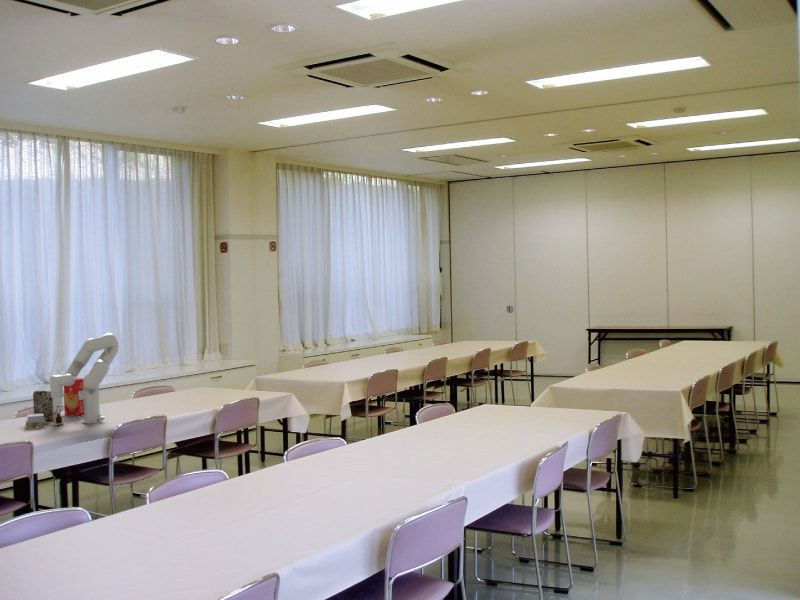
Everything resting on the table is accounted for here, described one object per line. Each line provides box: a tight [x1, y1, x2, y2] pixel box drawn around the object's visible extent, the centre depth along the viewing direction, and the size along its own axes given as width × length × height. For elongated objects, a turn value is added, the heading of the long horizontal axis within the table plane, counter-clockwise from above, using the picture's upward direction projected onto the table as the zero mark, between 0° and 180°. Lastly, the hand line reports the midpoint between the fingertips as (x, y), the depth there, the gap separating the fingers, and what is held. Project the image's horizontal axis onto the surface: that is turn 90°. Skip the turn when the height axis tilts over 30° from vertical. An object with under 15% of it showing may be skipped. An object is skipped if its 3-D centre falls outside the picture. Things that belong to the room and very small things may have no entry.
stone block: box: [32, 389, 56, 421], centre depth 535 cm, size 13×7×20 cm, turn 92°
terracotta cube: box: [53, 413, 65, 426], centre depth 520 cm, size 6×6×6 cm
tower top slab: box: [27, 413, 44, 423], centre depth 514 cm, size 9×9×4 cm
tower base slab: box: [25, 419, 46, 430], centre depth 514 cm, size 11×11×4 cm
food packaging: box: [63, 377, 84, 417], centre depth 553 cm, size 15×5×25 cm, turn 60°
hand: (58, 422), depth 520 cm, fingers closed on terracotta cube, 5 cm apart
